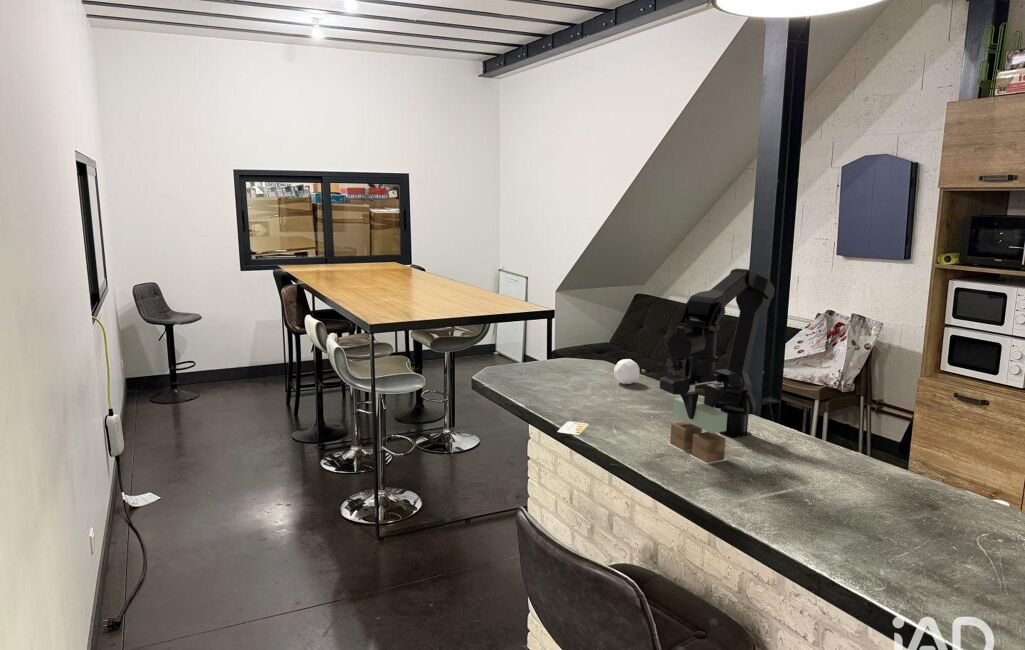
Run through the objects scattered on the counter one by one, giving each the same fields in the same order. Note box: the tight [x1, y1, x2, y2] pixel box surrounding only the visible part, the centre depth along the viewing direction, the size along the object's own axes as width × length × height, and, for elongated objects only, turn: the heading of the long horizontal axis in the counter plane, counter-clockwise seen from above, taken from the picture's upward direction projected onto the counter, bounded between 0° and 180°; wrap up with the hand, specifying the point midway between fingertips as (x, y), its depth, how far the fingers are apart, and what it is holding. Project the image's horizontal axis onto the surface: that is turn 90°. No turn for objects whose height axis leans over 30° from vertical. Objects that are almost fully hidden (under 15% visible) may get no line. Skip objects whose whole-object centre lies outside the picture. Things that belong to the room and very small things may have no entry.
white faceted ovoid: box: [613, 358, 640, 385], centre depth 220 cm, size 8×8×12 cm
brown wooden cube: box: [669, 420, 703, 451], centre depth 163 cm, size 5×5×5 cm
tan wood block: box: [691, 431, 726, 463], centre depth 156 cm, size 5×5×5 cm
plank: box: [672, 396, 727, 434], centre depth 158 cm, size 4×14×4 cm, turn 23°
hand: (698, 417), depth 159 cm, fingers closed on plank, 4 cm apart
